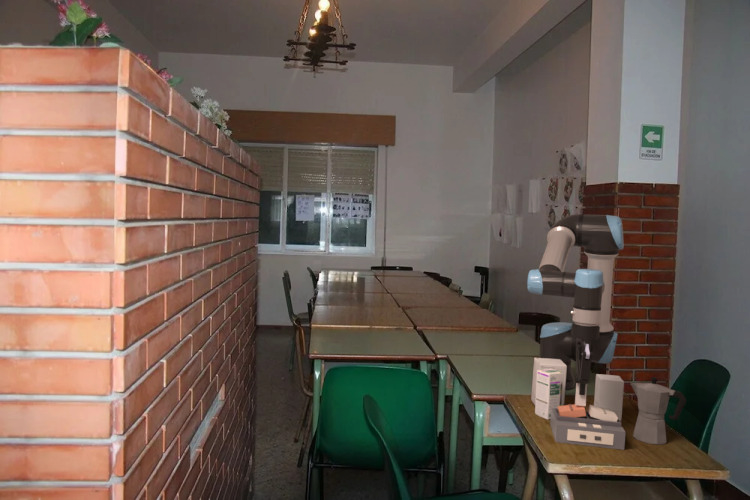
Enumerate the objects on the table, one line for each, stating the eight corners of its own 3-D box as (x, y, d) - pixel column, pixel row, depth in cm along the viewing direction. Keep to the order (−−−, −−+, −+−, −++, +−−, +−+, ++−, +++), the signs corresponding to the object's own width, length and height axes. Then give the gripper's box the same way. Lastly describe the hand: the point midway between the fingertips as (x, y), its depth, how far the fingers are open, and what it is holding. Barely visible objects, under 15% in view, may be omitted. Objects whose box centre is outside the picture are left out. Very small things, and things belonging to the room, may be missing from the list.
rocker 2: (587, 410, 168) (590, 403, 168) (612, 418, 167) (614, 411, 167) (590, 416, 163) (593, 409, 163) (615, 424, 162) (618, 417, 162)
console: (550, 424, 175) (551, 404, 174) (613, 431, 171) (614, 410, 171) (555, 442, 161) (557, 420, 160) (624, 450, 157) (626, 428, 157)
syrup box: (547, 420, 179) (550, 373, 178) (534, 413, 184) (536, 368, 183) (561, 417, 181) (564, 372, 180) (547, 411, 186) (550, 367, 185)
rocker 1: (558, 413, 170) (557, 405, 170) (583, 410, 168) (581, 402, 168) (560, 418, 165) (559, 411, 165) (586, 416, 163) (584, 408, 163)
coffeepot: (619, 435, 168) (624, 374, 167) (633, 428, 175) (637, 369, 174) (675, 452, 157) (681, 387, 156) (688, 444, 164) (693, 382, 163)
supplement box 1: (536, 408, 189) (539, 363, 188) (530, 400, 198) (533, 357, 197) (564, 410, 188) (567, 365, 187) (557, 401, 197) (560, 358, 196)
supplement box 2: (621, 421, 180) (624, 381, 180) (596, 418, 182) (599, 379, 181) (616, 413, 188) (619, 375, 187) (592, 411, 189) (595, 373, 188)
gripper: (568, 318, 171) (563, 396, 173) (575, 326, 159) (569, 410, 160) (595, 320, 170) (590, 399, 171) (604, 328, 157) (598, 413, 159)
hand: (580, 404), depth 166 cm, fingers closed
